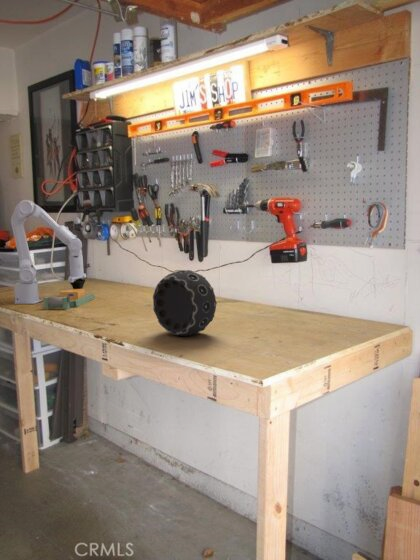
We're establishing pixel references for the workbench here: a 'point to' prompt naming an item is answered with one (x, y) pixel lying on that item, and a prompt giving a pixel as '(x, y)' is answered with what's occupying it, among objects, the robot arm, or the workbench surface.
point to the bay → (66, 301)
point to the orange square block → (77, 293)
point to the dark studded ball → (184, 303)
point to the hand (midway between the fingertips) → (78, 296)
